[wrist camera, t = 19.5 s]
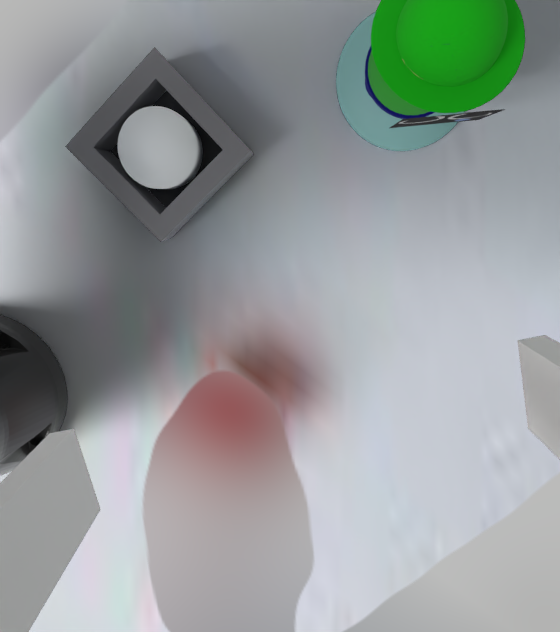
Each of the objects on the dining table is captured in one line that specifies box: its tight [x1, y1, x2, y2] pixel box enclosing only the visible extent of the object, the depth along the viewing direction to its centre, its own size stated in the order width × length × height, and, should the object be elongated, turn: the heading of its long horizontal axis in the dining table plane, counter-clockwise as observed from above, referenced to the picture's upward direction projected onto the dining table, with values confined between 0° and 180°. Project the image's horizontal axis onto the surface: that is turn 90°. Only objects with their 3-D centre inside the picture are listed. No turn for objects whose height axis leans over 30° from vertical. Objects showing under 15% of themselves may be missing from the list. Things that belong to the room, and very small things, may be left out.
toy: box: [365, 0, 525, 128], centre depth 35 cm, size 9×9×15 cm
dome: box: [118, 106, 203, 189], centre depth 41 cm, size 6×6×3 cm
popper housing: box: [65, 47, 254, 242], centre depth 42 cm, size 10×10×4 cm
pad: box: [336, 12, 465, 151], centre depth 42 cm, size 11×11×1 cm
